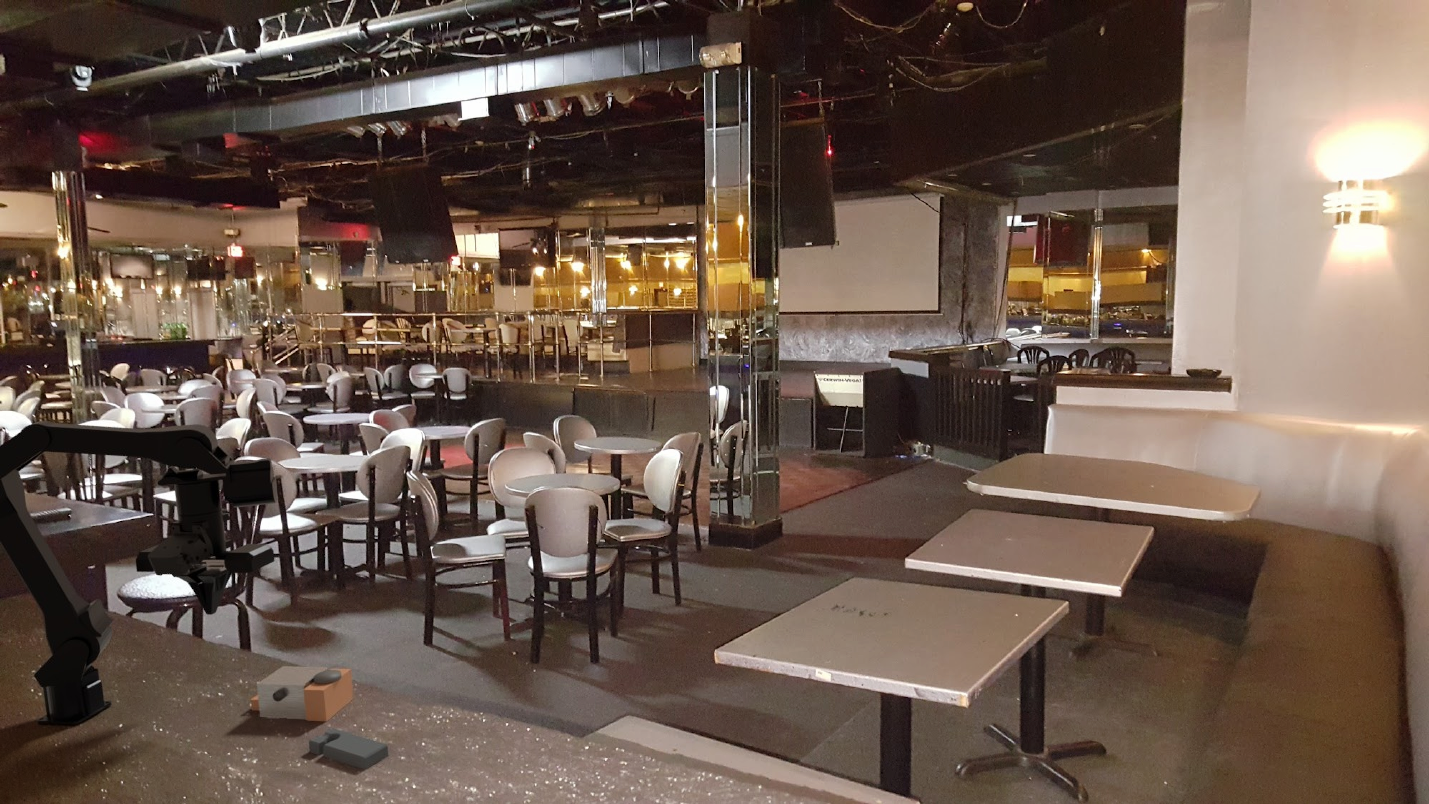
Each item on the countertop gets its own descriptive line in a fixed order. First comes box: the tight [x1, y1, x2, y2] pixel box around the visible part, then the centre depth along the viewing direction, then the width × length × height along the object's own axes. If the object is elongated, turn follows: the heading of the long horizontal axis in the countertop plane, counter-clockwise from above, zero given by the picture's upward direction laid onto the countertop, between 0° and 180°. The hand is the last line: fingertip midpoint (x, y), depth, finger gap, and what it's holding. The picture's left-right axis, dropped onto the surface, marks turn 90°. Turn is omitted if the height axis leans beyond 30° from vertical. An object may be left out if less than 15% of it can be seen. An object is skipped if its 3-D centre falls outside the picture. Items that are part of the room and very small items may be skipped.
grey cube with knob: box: [256, 665, 329, 720], centre depth 129 cm, size 7×7×5 cm
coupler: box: [250, 668, 354, 722], centre depth 129 cm, size 13×7×5 cm, turn 82°
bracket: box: [308, 727, 389, 770], centre depth 116 cm, size 4×10×2 cm, turn 61°
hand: (211, 613), depth 135 cm, fingers closed
